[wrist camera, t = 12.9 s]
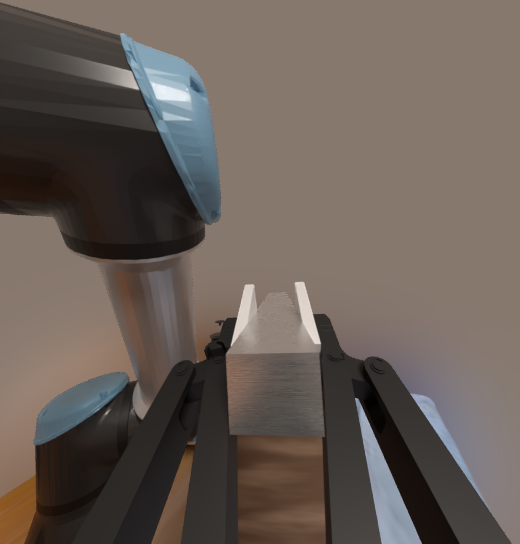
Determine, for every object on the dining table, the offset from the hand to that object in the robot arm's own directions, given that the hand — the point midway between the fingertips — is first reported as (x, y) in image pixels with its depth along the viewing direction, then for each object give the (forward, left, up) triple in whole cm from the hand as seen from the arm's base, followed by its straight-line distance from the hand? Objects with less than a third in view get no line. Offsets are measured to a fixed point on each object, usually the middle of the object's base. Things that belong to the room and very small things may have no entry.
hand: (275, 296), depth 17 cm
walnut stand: (-16, +13, -38) cm, 43 cm away
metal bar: (-5, +4, -4) cm, 8 cm away
